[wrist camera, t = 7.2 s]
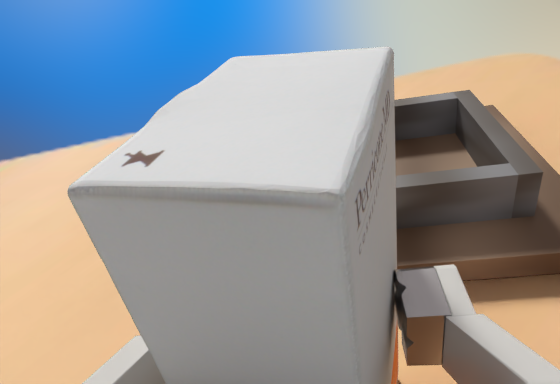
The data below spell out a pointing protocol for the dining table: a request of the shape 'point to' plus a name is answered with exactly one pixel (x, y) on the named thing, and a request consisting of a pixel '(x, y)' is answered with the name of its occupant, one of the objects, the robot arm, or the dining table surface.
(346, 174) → the skincare box
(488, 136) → the collar stand
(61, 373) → the dining table surface
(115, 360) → the robot arm
